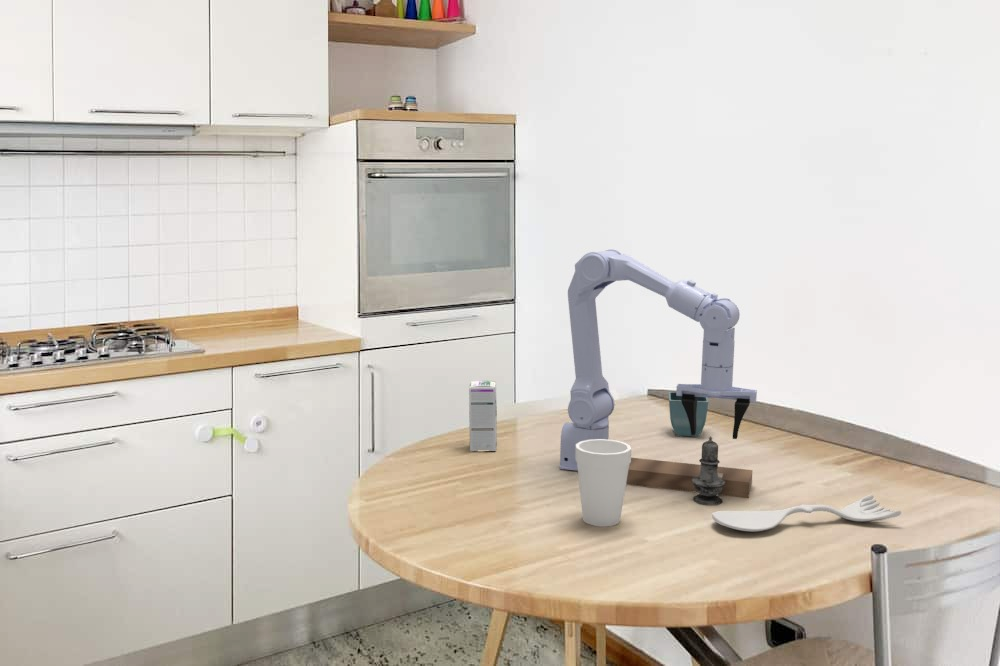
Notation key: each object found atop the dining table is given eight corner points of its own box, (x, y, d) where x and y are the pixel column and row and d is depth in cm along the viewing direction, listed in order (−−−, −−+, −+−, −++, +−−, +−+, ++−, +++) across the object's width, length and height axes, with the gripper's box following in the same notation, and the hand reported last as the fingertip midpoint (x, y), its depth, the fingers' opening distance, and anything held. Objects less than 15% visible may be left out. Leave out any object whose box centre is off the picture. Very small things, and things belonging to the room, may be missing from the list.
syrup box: (496, 452, 201) (496, 386, 198) (468, 452, 201) (468, 385, 198) (496, 445, 206) (497, 380, 204) (469, 444, 206) (470, 380, 204)
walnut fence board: (620, 483, 180) (620, 466, 180) (628, 471, 188) (628, 455, 187) (748, 498, 173) (749, 480, 172) (751, 485, 180) (752, 468, 180)
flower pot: (667, 438, 213) (669, 399, 212) (667, 428, 222) (668, 391, 220) (706, 440, 212) (708, 401, 210) (705, 430, 220) (706, 393, 219)
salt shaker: (724, 506, 168) (727, 441, 166) (690, 503, 169) (693, 439, 167) (724, 496, 174) (727, 433, 172) (691, 493, 175) (694, 431, 173)
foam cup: (564, 514, 163) (566, 442, 161) (611, 507, 167) (613, 436, 165) (590, 533, 155) (592, 457, 153) (639, 525, 158) (641, 451, 156)
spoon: (901, 528, 159) (903, 509, 158) (725, 541, 152) (726, 520, 152) (870, 510, 167) (872, 492, 167) (702, 521, 161) (703, 502, 161)
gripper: (674, 365, 173) (672, 437, 175) (756, 371, 168) (752, 444, 170) (680, 359, 179) (677, 428, 181) (759, 364, 175) (755, 435, 177)
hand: (714, 435), depth 176 cm, fingers open, 7 cm apart
